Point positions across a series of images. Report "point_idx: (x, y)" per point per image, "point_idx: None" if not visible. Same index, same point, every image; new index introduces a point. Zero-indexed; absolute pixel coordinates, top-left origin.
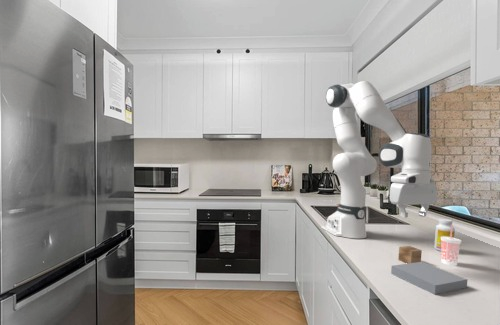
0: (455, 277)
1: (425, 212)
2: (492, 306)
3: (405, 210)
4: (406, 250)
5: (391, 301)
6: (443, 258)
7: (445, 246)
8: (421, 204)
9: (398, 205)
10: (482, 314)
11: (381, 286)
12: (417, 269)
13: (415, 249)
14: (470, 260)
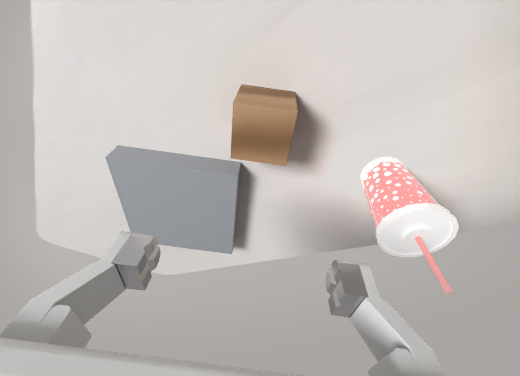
0: (215, 243)
1: (351, 313)
2: (202, 268)
3: (100, 306)
4: (232, 135)
5: (37, 210)
6: (367, 176)
7: (376, 209)
8: (397, 373)
9: (17, 318)
10: (162, 268)
11: (46, 175)
12: (165, 196)
13: (269, 152)
14: (486, 189)
